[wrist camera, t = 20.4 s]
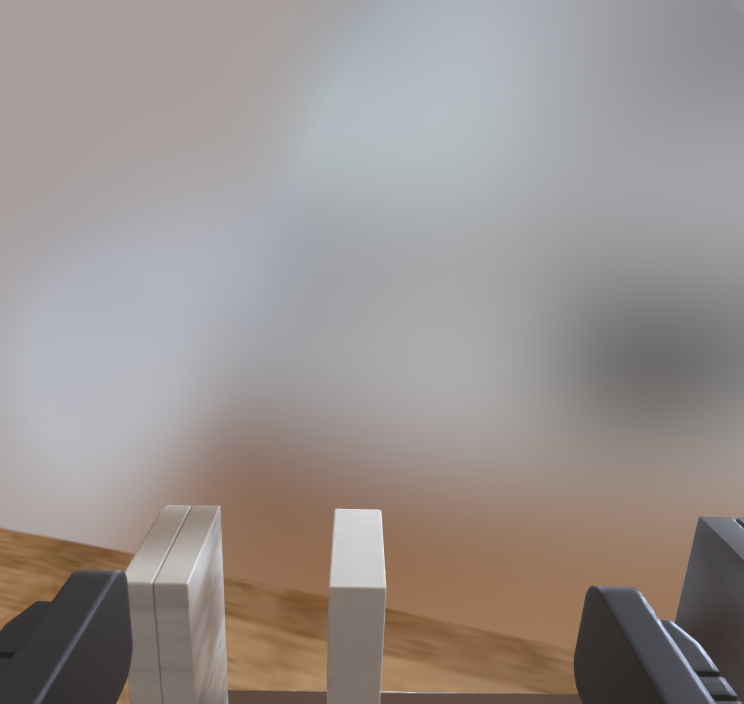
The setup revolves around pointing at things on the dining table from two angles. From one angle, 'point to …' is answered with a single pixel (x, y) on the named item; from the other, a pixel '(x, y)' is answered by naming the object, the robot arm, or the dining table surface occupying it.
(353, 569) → the white book
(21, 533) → the dining table surface
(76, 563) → the dining table surface
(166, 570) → the book rack
